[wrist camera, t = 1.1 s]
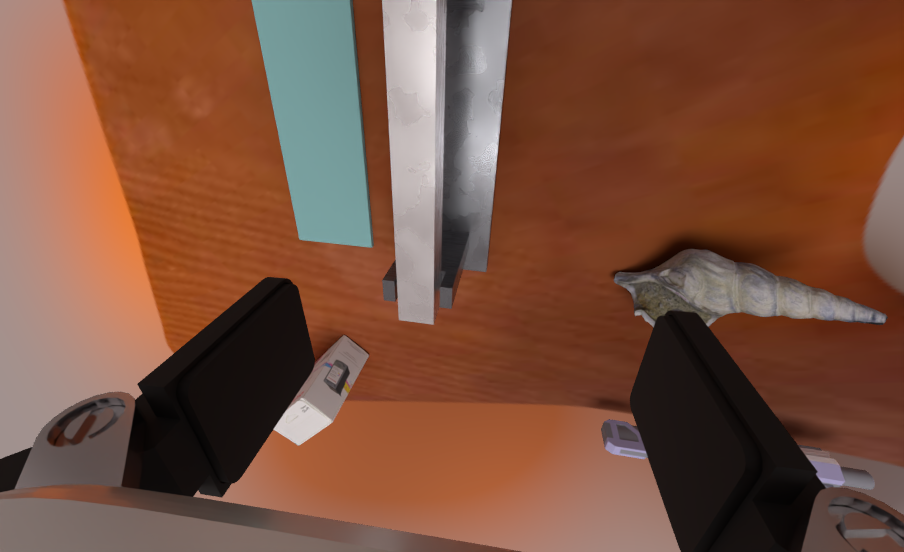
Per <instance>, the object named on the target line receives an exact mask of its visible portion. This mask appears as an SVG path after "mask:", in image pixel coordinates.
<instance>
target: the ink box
mask: <svg viewBox="0 0 904 552" xmlns="http://www.w3.org/2000/svg"><path fill="white" fill-rule="evenodd" d="M368 357H369V355H368V354H367V353H366V352H365V351H364V350H363V349H362V348H360V347H359V346H358V345H356V344H355V343H354V342H353V341H351V340H350V339H349V338H348V337H347V336H345V335H343V336H342V337H341V338H340V339H339V340H338V341H337V342H336V343H335V344H334V345H333V346H332V347H331V348H329V349H328V350H327V351H326V352H325V353H324V354H323V355H322V356H321V357H320V358H319V359H318V360H317V361H316V362H315V364H314V368H313V371H312V373H311V374H310V376H309V377H308V379H307V380H306V382H305V383H304V385H303V386H302V388H301V389H300V391H299V392H298V393H297V395H296V396H295V398H294V399H293V401H292V402H291V404H290V405H289V407H288V408H287V410H286V411H285V413H284V414H283V416H282V417H281V419H280V420H279V422H278V423H277V425H276V426H275V428H274V430H275V431H277V432H278V433H280V434H282V435H283V436H285V437H286V438H288V439H290V440H291V441H293V442H294V443H295V444H297V445H301V444H302V443H303V442H305V441H306V440H308V439H309V438H311V437H312V436H314V435H315V434H316V433H318V432H319V431H321V430H322V429H324V428H325V427H327V426H328V425H329V424H330V423H332V422H333V421H334V419H335V417H336V415H337V413H338V411H339V409H340V408H341V406H342V404H343V402H344V400H345V399H346V397H347V395H348V393H349V391H350V389H351V388H352V386H353V384H354V382H355V380H356V378H357V377H358V375H359V373H360V371H361V369H362V368H363V366H364V364H365V362H366V360H367V358H368Z"/></svg>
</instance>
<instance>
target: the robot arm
mask: <svg viewBox="0 0 904 552" xmlns="http://www.w3.org/2000/svg"><path fill="white" fill-rule="evenodd" d="M314 364H315V358H314V354H313V350H312V345H311V341H310V337H309V333H308V328H307V324H306V320H305V316H304V311H303V307H302V303H301V299H300V295H299V290H298V287H297V286H296V285H294V284H293V283H292V282H291V280H289V279H285V278H273V277H267V278H265V279H263V280H262V281H261V282H260V283H258V284H257V285H256V286H255V287H254V288H252V289H251V290H250V291H249V292H248V293H246V294H245V295H244V296H243V297H242V298H240V299H239V300H238V301H237V302H236V303H234V304H233V305H232V306H231V307H229V308H228V309H227V310H226V311H225V312H223V313H222V314H221V315H220V316H219V317H217V318H216V319H215V320H214V321H213V322H211V323H210V324H209V325H208V326H207V327H205V328H204V329H203V330H202V331H201V332H199V333H198V334H197V335H196V336H195V337H193V338H192V339H191V340H190V341H189V342H187V343H186V344H185V345H184V346H183V347H181V348H180V349H179V350H178V351H176V352H175V353H174V354H173V355H172V356H170V357H169V358H168V359H167V360H166V361H165V362H163V363H162V364H161V365H160V366H158V367H157V368H156V369H155V370H154V371H152V372H151V373H150V374H149V375H148V376H146V377H145V378H144V379H143V380H142V381H140V382H139V383H138V386H139V388H140V390H141V391H142V393H143V394H142V395H140V396H139V397H138V398H137V399H136V400H135V399H134V398H133V396H131V395H130V394H129V393H124V392H109V393H104V394H100V395H96V396H93V397H90V398H88V399H85V400H83V401H80V402H79V403H76V404H75V405H73V406H71V407H69V408H67V409H65V410H64V411H63V412H61V413H60V414H58V415H57V416H55V417H54V418H53V419H52V420H51V421H49V423H47V424H46V425H45V426H44V427H43V429H42V430H41V431H40V433H39V434H38V436H37V437H36V440H35V442H34V445H33V447H31V448H28V449H25V450H23V451H21V452H18V453H15V454H12V455H10V456H7V457H4V458H2V459H0V552H520V551H514V550H508V549H503V548H497V547H492V546H486V545H480V544H474V543H468V542H462V541H456V540H450V539H444V538H439V537H433V536H427V535H421V534H415V533H409V532H403V531H398V530H392V529H385V528H380V527H374V526H368V525H362V524H356V523H350V522H344V521H338V520H332V519H326V518H320V517H314V516H308V515H302V514H295V513H289V512H283V511H277V510H271V509H265V508H259V507H253V506H246V505H241V504H234V503H228V502H222V501H216V500H210V499H204V498H197V497H193V496H194V495H195V493H196V492H197V491H198V490H199V492H200V494H205V495H211V496H217V497H222V496H223V495H224V494H225V492H226V491H227V489H228V488H229V487H230V485H231V484H232V483H235V482H237V481H238V480H239V479H240V478H241V477H242V475H243V474H244V472H245V471H246V469H247V468H248V466H249V465H250V463H251V462H252V460H253V459H254V457H255V456H256V454H257V453H258V451H259V450H260V448H261V447H262V445H263V444H264V443H265V441H266V440H267V438H268V437H269V435H270V434H271V432H272V431H273V429H274V428H275V426H276V425H277V423H278V422H279V420H280V419H281V417H282V416H283V414H284V413H285V411H286V410H287V408H288V407H289V405H290V404H291V402H292V401H293V399H294V398H295V396H296V395H297V393H298V392H299V391H300V389H301V388H302V386H303V385H304V383H305V382H306V380H307V379H308V377H309V376H310V374H311V373H312V371H313V368H314ZM630 406H631V410H632V413H633V416H634V419H635V421H636V424H637V427H638V430H639V433H640V436H641V439H642V442H643V445H644V448H645V450H646V453H647V456H648V459H649V462H650V465H651V468H652V471H653V474H654V476H655V479H656V482H657V485H658V488H659V490H660V494H661V497H662V500H663V503H664V505H665V508H666V511H667V514H668V517H669V520H670V522H671V526H672V528H673V531H674V534H675V537H676V540H677V543H678V545H679V548H680V550H681V552H904V515H903V514H901V513H900V512H898V511H897V510H895V509H893V508H892V507H890V506H888V505H887V504H885V503H884V502H882V501H879V500H877V499H875V498H873V497H871V496H869V495H866V494H864V493H861V492H858V491H855V490H851V489H848V488H840V487H829V488H826V487H825V486H824V484H823V483H822V482H821V480H820V479H819V478H818V476H817V475H816V473H817V472H818V471H817V470H816V469H815V467H814V466H813V465H812V463H811V462H810V461H809V459H808V458H807V457H806V455H805V454H804V453H803V451H802V450H801V449H800V447H799V446H798V445H797V443H796V442H795V441H794V440H793V438H792V437H791V436H790V434H789V433H788V432H787V430H786V429H785V428H784V426H783V425H782V424H781V422H780V421H779V420H778V418H777V417H776V416H775V414H774V413H773V412H772V410H771V409H770V408H769V407H768V405H767V404H766V403H765V401H764V400H763V399H762V397H761V396H760V395H759V393H758V392H757V391H756V389H755V388H754V387H753V385H752V384H751V383H750V381H749V380H748V379H747V378H746V376H745V375H744V374H743V372H742V371H741V370H740V368H739V367H738V366H737V364H736V363H735V362H734V360H733V359H732V358H731V356H730V355H729V354H728V352H727V351H726V350H725V348H724V347H723V346H722V345H721V343H720V342H719V341H718V339H717V338H716V337H715V335H714V334H713V333H712V331H711V330H710V329H709V327H708V326H707V325H706V323H705V322H704V321H703V319H702V318H701V317H700V316H699V315H698V314H697V313H695V312H685V311H672V310H670V311H667V312H666V314H665V315H664V316H659V317H658V318H657V320H656V322H655V325H654V328H653V331H652V334H651V337H650V340H649V342H648V345H647V348H646V351H645V354H644V357H643V360H642V363H641V366H640V369H639V372H638V374H637V377H636V380H635V383H634V386H633V389H632V392H631V396H630Z"/></svg>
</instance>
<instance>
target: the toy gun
mask: <svg viewBox="0 0 904 552" xmlns="http://www.w3.org/2000/svg"><path fill="white" fill-rule="evenodd" d="M601 431H602V436H603V441H604V445H605V449H606V450H608V451H609V452H610V453H612V454H616V455H622V456H628V457H634V458H640V459H645V457H647V458H648V456H647V453H646V450H645V448H644V445H643V442H642V439H641V436H640V433H639V430H638V427H637V426H632V425H630V424H629V423H627V422H623V421H616V420H610V419H609V420H607V421H605V422H604V423H603V426H602V428H601ZM798 446H799V447H800V449H801V450H802V451H803V453H804V454H805V455H806V457H807V458H808V459H809V461H810V462H811V463H812V465H813V466H814V467H815V469H816V470H817V471H818V472H817V473H816V475H817V476H818V478H819V479H820V480H821V482H822V483H823V484H824V486H825V487H826V488H829V487H840V486H841V485H845V486H851V487H857V488H863V489H869V490H870V489H873V488H874V486H875V483H874V479H873V477H872V476H871V475H870V474H869V473H868V472H867V471H865V470H858V469H852V468H846V467H840V465H839V464H838V463H837V461H836V460H835V459H831V458H830V455H829V452H827V451H822V450H821V449H820V448H815V447H809V446H802V445H798Z"/></svg>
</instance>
